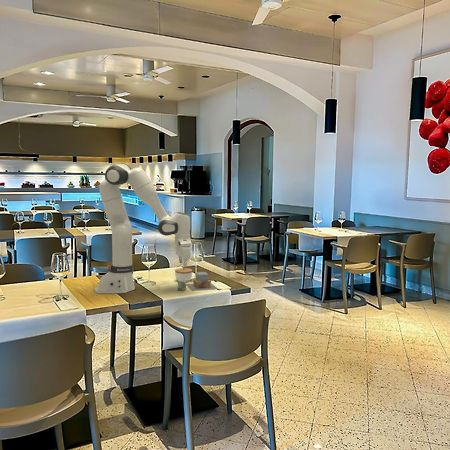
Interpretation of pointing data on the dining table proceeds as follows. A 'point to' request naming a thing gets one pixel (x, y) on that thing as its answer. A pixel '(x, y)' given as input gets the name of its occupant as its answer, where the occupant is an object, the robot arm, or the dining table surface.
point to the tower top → (201, 276)
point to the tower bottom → (201, 284)
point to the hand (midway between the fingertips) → (182, 264)
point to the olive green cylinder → (181, 286)
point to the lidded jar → (183, 274)
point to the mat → (201, 288)
